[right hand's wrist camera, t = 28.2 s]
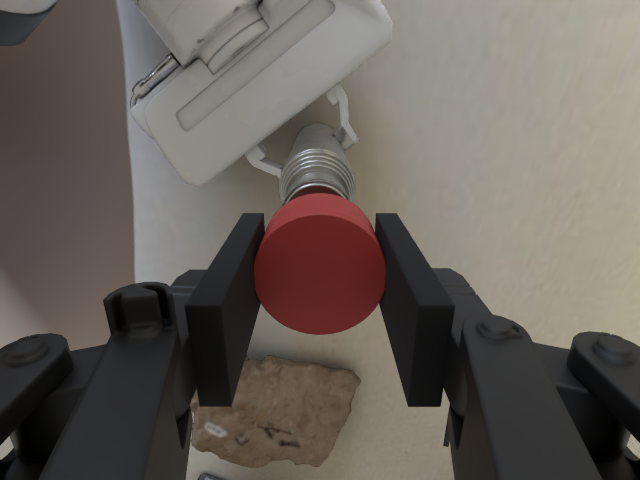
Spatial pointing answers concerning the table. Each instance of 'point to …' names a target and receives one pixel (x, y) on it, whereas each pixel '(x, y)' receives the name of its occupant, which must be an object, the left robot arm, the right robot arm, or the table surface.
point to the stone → (277, 414)
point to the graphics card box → (207, 477)
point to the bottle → (316, 166)
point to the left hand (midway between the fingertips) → (324, 165)
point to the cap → (319, 265)
